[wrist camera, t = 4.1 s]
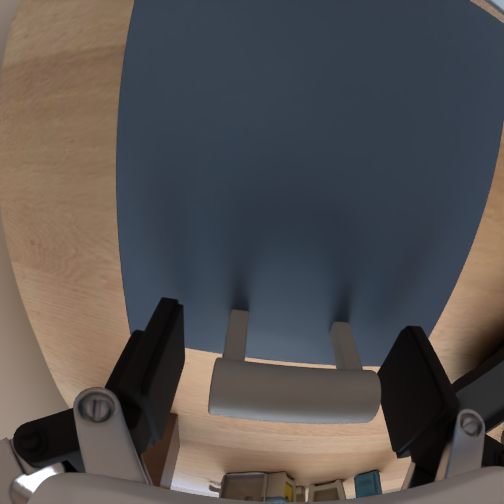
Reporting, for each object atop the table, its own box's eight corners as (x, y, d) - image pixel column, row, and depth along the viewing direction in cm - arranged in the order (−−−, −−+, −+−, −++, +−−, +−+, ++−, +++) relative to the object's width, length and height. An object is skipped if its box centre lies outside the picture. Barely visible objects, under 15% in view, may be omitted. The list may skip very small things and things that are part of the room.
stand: (114, 428, 34) (80, 527, 18) (100, 392, 29) (49, 513, 13) (179, 446, 34) (156, 554, 18) (177, 414, 30) (144, 552, 13)
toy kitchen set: (374, 450, 33) (384, 510, 24) (379, 473, 39) (386, 519, 29) (261, 472, 37) (257, 528, 28) (288, 492, 43) (287, 536, 33)
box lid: (406, 355, 13) (438, 437, 8) (136, 325, 13) (92, 412, 8) (496, 27, 6) (581, 18, 1) (158, -52, 6) (95, -118, 1)
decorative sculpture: (257, 493, 44) (255, 523, 37) (209, 488, 44) (205, 518, 37) (271, 471, 36) (269, 510, 30) (209, 464, 36) (202, 503, 30)
